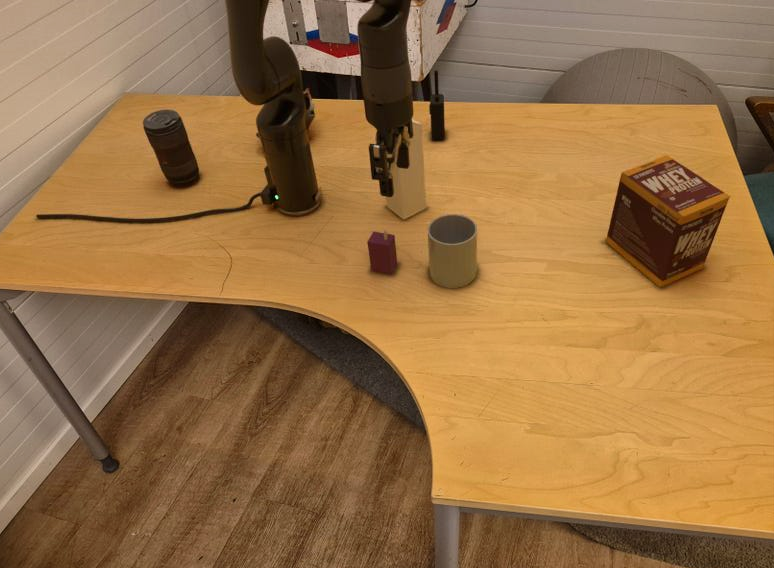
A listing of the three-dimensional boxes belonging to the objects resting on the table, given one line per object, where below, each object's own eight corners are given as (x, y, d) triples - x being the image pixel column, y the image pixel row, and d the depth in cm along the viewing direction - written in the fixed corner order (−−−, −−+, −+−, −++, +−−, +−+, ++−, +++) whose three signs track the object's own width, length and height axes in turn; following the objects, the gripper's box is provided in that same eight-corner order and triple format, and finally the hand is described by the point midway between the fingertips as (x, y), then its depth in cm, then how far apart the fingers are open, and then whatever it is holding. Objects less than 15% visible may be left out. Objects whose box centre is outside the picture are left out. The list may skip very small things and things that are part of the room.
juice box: (371, 271, 119) (365, 233, 113) (377, 260, 121) (372, 222, 115) (392, 274, 118) (387, 236, 112) (397, 264, 120) (393, 225, 113)
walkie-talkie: (444, 140, 148) (443, 77, 137) (430, 141, 148) (427, 78, 137) (444, 130, 151) (443, 67, 140) (430, 130, 152) (427, 68, 140)
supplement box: (660, 289, 112) (683, 216, 100) (604, 242, 121) (619, 170, 109) (704, 268, 115) (732, 196, 103) (647, 224, 124) (666, 153, 112)
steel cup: (423, 283, 116) (421, 240, 109) (437, 253, 122) (435, 210, 114) (469, 291, 114) (469, 248, 107) (481, 261, 119) (482, 218, 112)
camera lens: (159, 186, 142) (133, 125, 131) (180, 167, 147) (157, 106, 136) (188, 193, 140) (164, 130, 129) (209, 173, 145) (187, 111, 134)
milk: (403, 220, 129) (394, 119, 112) (386, 207, 132) (375, 107, 116) (427, 208, 131) (421, 108, 115) (409, 195, 135) (401, 96, 118)
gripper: (379, 65, 100) (388, 156, 112) (346, 108, 91) (360, 202, 104) (424, 69, 98) (428, 161, 111) (395, 114, 90) (403, 208, 102)
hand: (395, 181), depth 107 cm, fingers open, 8 cm apart
